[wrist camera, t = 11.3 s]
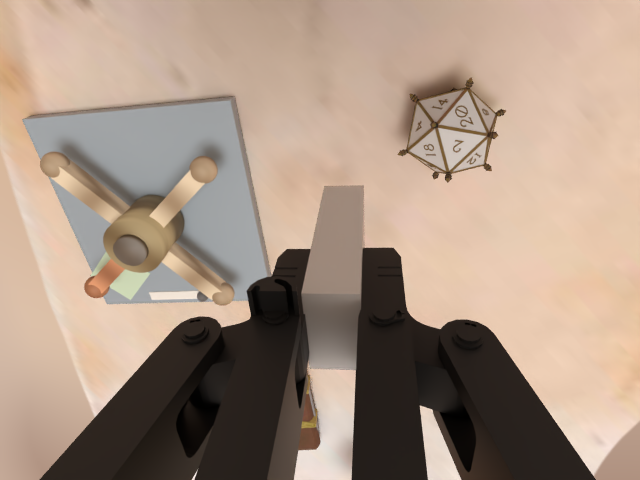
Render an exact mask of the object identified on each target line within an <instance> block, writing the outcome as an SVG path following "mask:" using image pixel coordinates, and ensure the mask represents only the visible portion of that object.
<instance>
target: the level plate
mask: <svg viewBox="0 0 640 480" xmlns="http://www.w3.org/2000/svg"><path fill="white" fill-rule="evenodd" d="M22 120H23V123H24V125H25V127H26V129H27V131H28V133H29V136H30V138H31V140H32V142H33V144H34V147H35V149H36V151H37V153H38V155H39V157H40V160H41V158H42V157H43V156H44V155H45V154H46V153H49V152H60V153H63V154H64V155H66V156H67V157H68V158H69V160H71V161H73V162H74V163H75V164H77V165H78V166H79V167H80V168H82V169H83V170H84V171H86V172H87V173H88V174H89V175H91V176H92V177H93V178H94V179H96V180H97V181H98V182H100V183H101V184H102V185H103V186H105V187H106V188H107V189H108V190H110V191H111V192H112V193H114V194H115V195H116V196H117V197H119V198H120V199H121V200H122V201H124V202H125V203H126V204H128V205H129V206H131V205H132V204H133V203H134V202H135V201H136V200H137V199H139V198H140V197H143V196H146V195H157V196H161V197H163V198H166V196H167V195H168V194H169V193H170V192H171V191H172V190H173V189H174V187H175V186H176V185H177V184H178V183H179V182H180V181H181V180H182V178H183V177H184V176H185V175H186V174H187V173H188V172H189V167H190V164H191V162H192V161H193V160H194V159H195V158H196V157H199V156H207V157H210V158H211V159H213V160H214V161H215V163H216V165H217V168H218V173H217V176H216V178H215V179H214V180H213V181H212V182H210V183H206V184H204V185H203V186H202V187H201V188H200V189H199V190H198V191H197V193H196V194H195V195H194V196H193V197H192V198H191V199H190V200H189V201H188V202H187V203H186V204H185V205H184V206H183V208H182V209H181V210H180V212H181V214H182V216H183V219H184V230H183V233H182V234H181V236H180V237H179V238H178V240H177V241H176V243H177V244H179V245H180V246H181V247H182V248H184V249H185V250H186V251H187V252H189V253H190V254H191V255H193V256H194V257H195V258H196V259H198V260H199V261H200V262H202V263H203V264H204V265H205V266H207V267H208V268H209V269H210V270H212V271H213V272H214V273H216V274H217V275H218V276H219V277H221V278H222V279H223V280H224V281H226V283H228V284H230V285H231V286H232V287H233V289H234V293H235V294H234V298H233V300H232V301H248V296H247V289H248V288H249V287H250V285H251V284H253V283H254V282H256V281H257V280H260V279H262V278H265V277H271V272H270V267H269V262H268V257H267V253H266V248H265V243H264V238H263V233H262V228H261V223H260V218H259V213H258V209H257V204H256V199H255V194H254V189H253V184H252V179H251V174H250V170H249V165H248V160H247V155H246V150H245V145H244V140H243V135H242V130H241V126H240V121H239V116H238V111H237V106H236V101H235V97H224V98H214V99H203V100H192V101H182V102H171V103H160V104H150V105H139V106H129V107H118V108H107V109H97V110H86V111H75V112H65V113H54V114H44V115H33V116H30V117H27V118H25V119H22ZM48 177H49V176H48ZM49 179H50V181H51V184H52V186H53V188H54V190H55V192H56V194H57V197H58V199H59V201H60V203H61V205H62V207H63V210H64V212H65V214H66V216H67V218H68V221H69V223H70V225H71V227H72V229H73V231H74V234H75V236H76V238H77V240H78V242H79V244H80V247H81V249H82V251H83V253H84V255H85V258H86V260H87V262H88V264H89V266H90V268H91V271H92V274H91V276H95V275H97V274H98V273H99V272H100V270H101V269H102V268H103V267H104V266H105V265H106V264H107V263H108V261H109V260H110V259H111V258H110V257H109V255H108V254H107V252H106V250H105V248H104V244H103V236H104V233H105V231H106V229H107V228H108V227H109V226H110V225H111V223H109V222H108V221H107V220H105V219H104V218H103V217H101V216H100V215H99V214H98V213H96V212H95V211H94V210H92V209H91V208H90V207H88V206H87V205H86V204H84V203H83V202H82V201H80V200H79V199H78V198H76V197H75V196H74V195H72V194H71V193H70V192H68V191H67V190H66V189H65V188H63V187H62V186H61V185H59V184H58V183H57V182H55V181H54V180H53V179H51V177H49ZM103 297H104V299H105V301H106V303H107V304H133V303H172V302H211V301H213V300H211V299H210V298H208V297H207V296H206V295H204V294H203V293H202V292H200V291H199V290H198V289H196V288H195V287H194V286H193V285H191V284H190V283H189V282H187V281H186V280H185V279H183V278H182V277H181V276H179V275H178V274H177V273H175V272H174V271H173V270H171V269H170V268H169V267H167V266H166V265H165V264H163V263H162V262H161V263H160V264H159V266H158V267H157V268H156V269H154V270H152V271H150V272H145V273H137V272H132V271H129V270H126V269H125V270H124V271H123V272H122V273H121V274H120V275H119V276H118V277H117V278H116V279H115V280H114V282H113V283H112V284H111V285H110V288H109V291H108V293H107V294H106V295H104V296H103Z"/></svg>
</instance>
